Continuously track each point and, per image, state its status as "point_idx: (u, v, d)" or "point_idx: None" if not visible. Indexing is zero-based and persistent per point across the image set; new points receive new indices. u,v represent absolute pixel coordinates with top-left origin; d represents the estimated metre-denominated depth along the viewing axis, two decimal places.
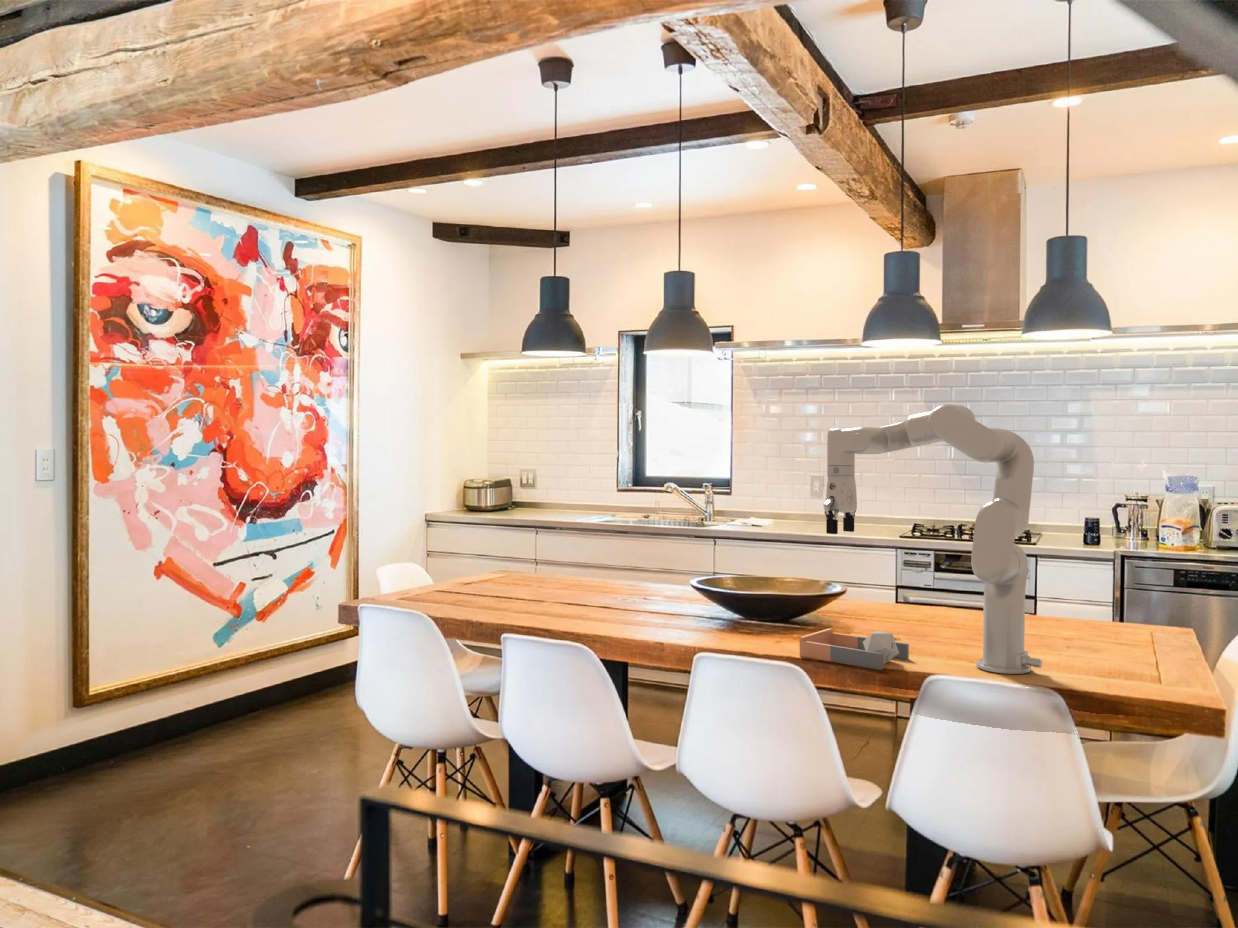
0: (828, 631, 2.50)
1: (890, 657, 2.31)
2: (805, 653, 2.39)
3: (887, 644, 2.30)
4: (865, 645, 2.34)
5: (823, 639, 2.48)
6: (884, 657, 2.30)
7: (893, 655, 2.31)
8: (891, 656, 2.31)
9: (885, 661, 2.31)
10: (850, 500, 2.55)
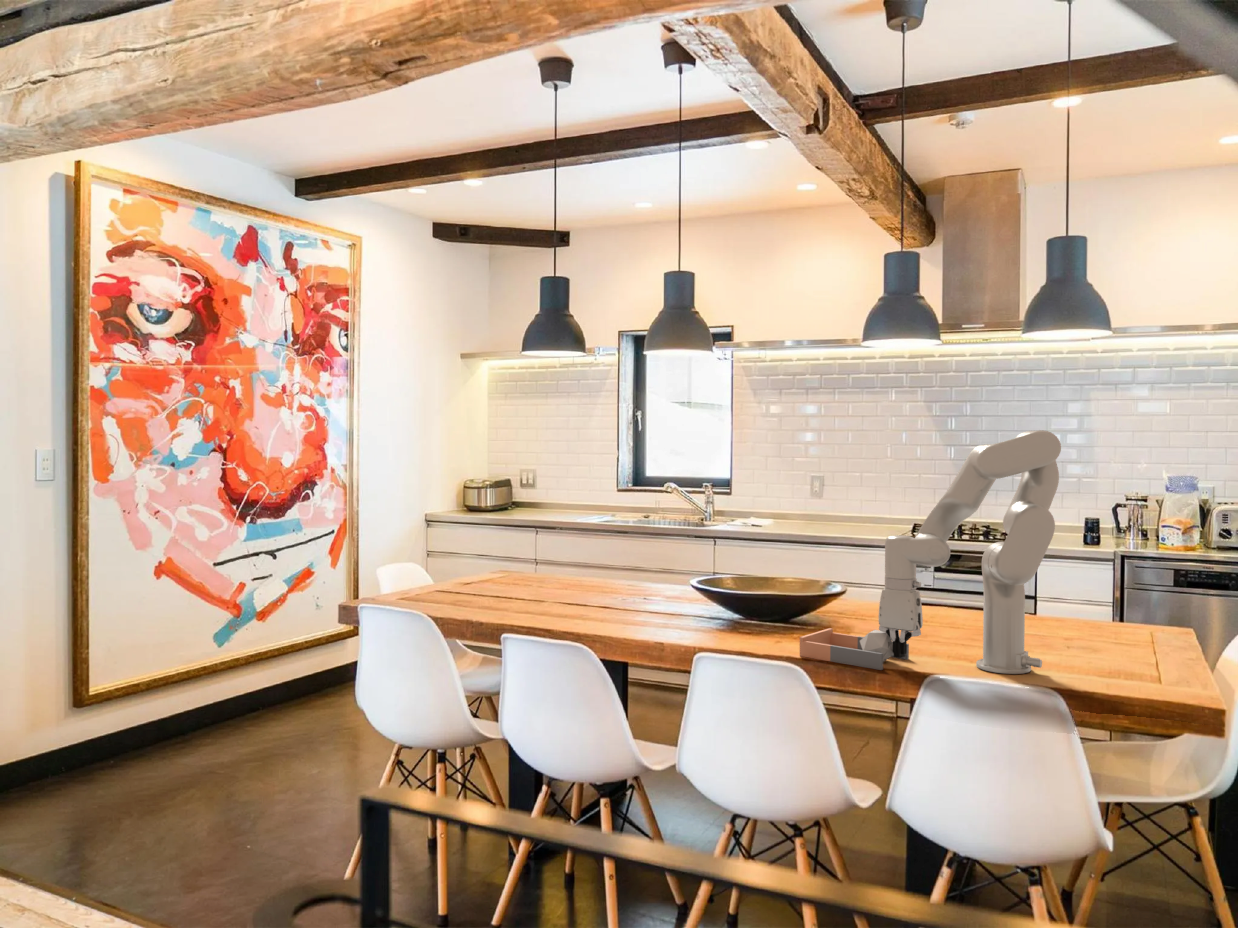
0: (828, 631, 2.50)
1: (887, 656, 2.31)
2: (805, 653, 2.39)
3: (884, 643, 2.30)
4: (862, 644, 2.34)
5: (823, 639, 2.48)
6: None
7: (890, 654, 2.31)
8: (888, 655, 2.31)
9: None
10: None
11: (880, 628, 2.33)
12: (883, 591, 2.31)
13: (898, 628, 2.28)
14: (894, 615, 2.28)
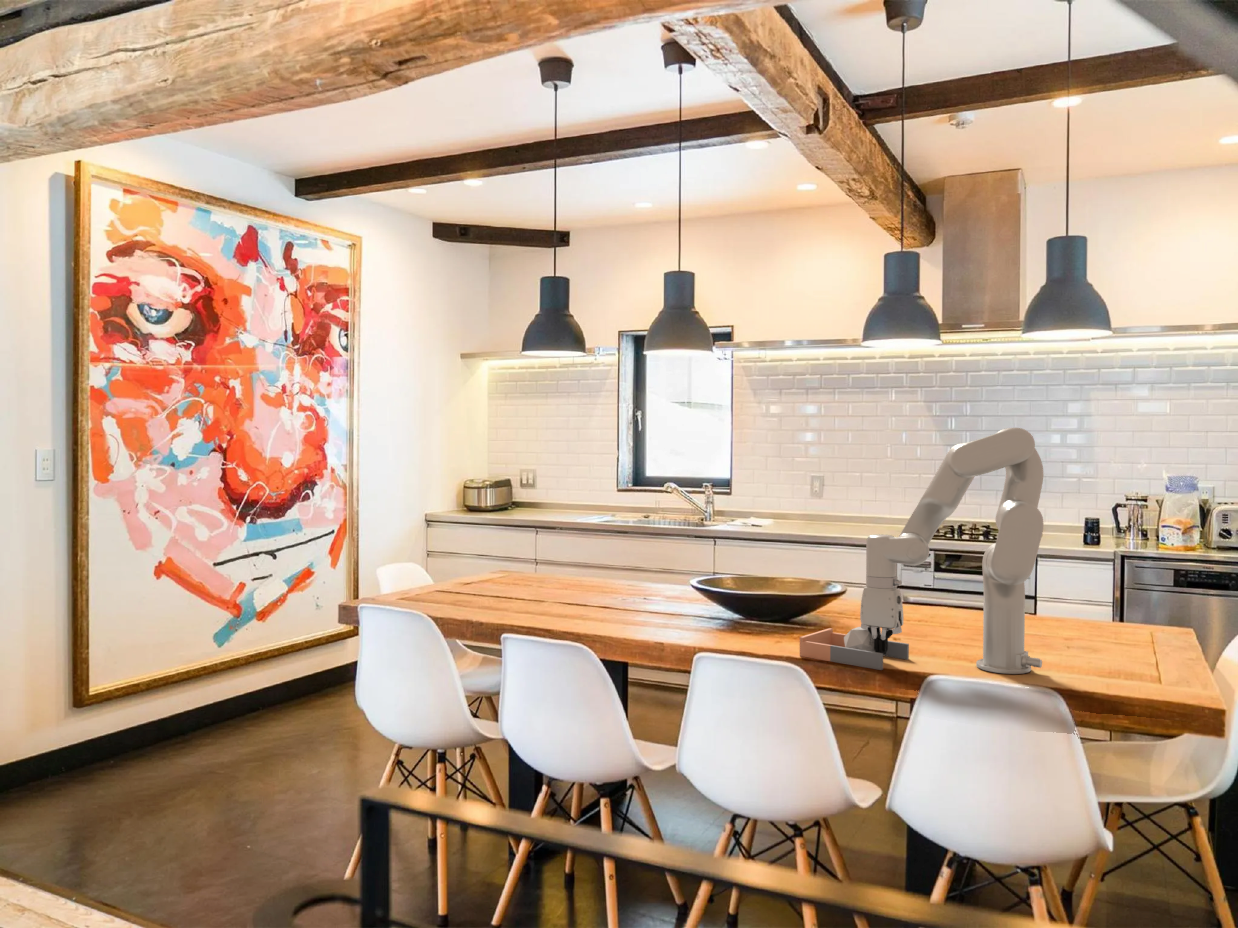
0: (828, 631, 2.50)
1: None
2: (805, 653, 2.39)
3: (865, 640, 2.34)
4: (845, 641, 2.39)
5: (823, 639, 2.48)
6: None
7: (871, 651, 2.35)
8: None
9: None
10: None
11: (862, 626, 2.36)
12: (864, 589, 2.34)
13: (879, 626, 2.32)
14: (875, 613, 2.32)
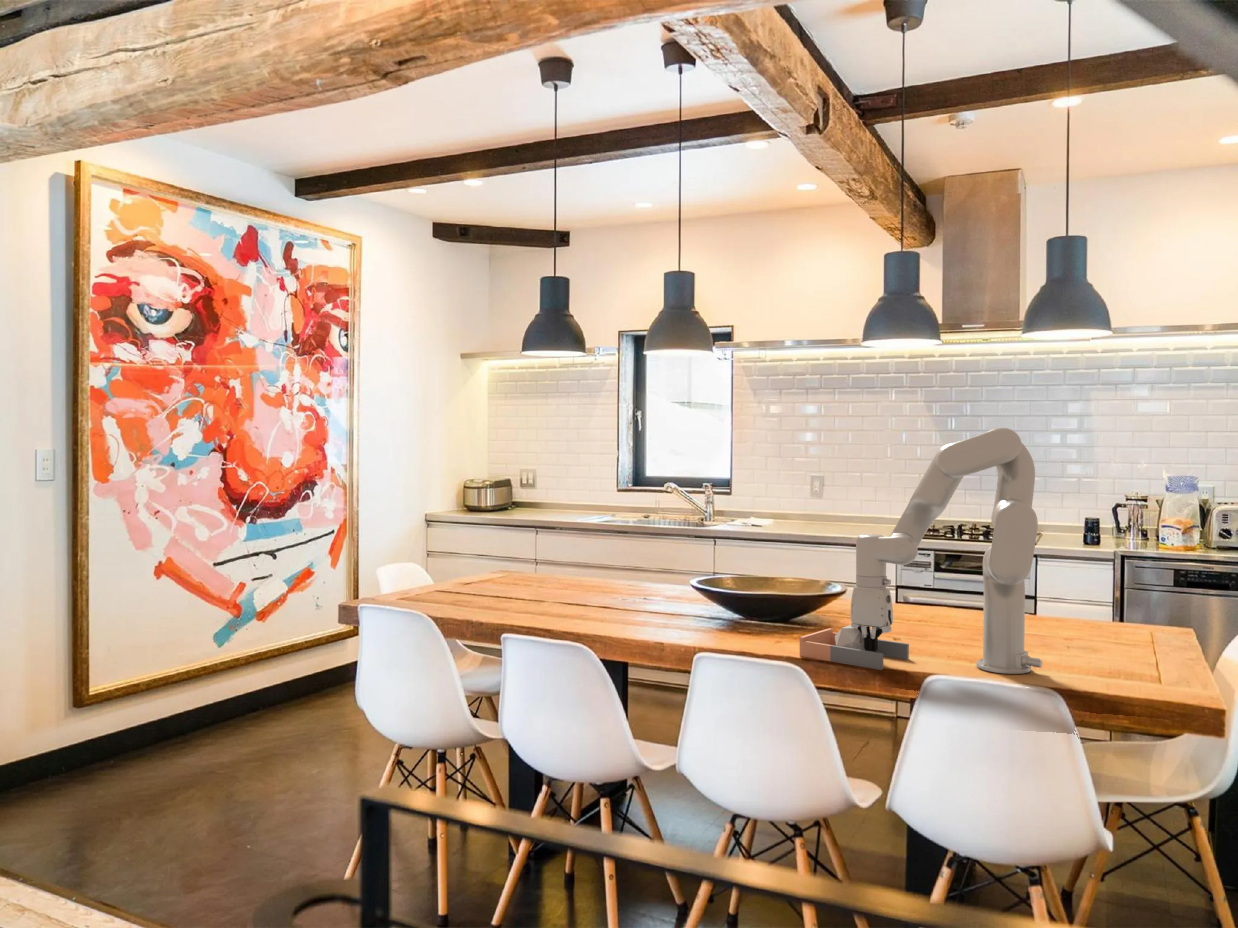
0: (828, 631, 2.50)
1: None
2: (805, 653, 2.39)
3: (855, 638, 2.36)
4: (836, 639, 2.41)
5: (823, 639, 2.48)
6: None
7: (862, 649, 2.37)
8: None
9: None
10: None
11: (852, 625, 2.38)
12: (854, 589, 2.36)
13: (869, 625, 2.34)
14: (865, 612, 2.34)
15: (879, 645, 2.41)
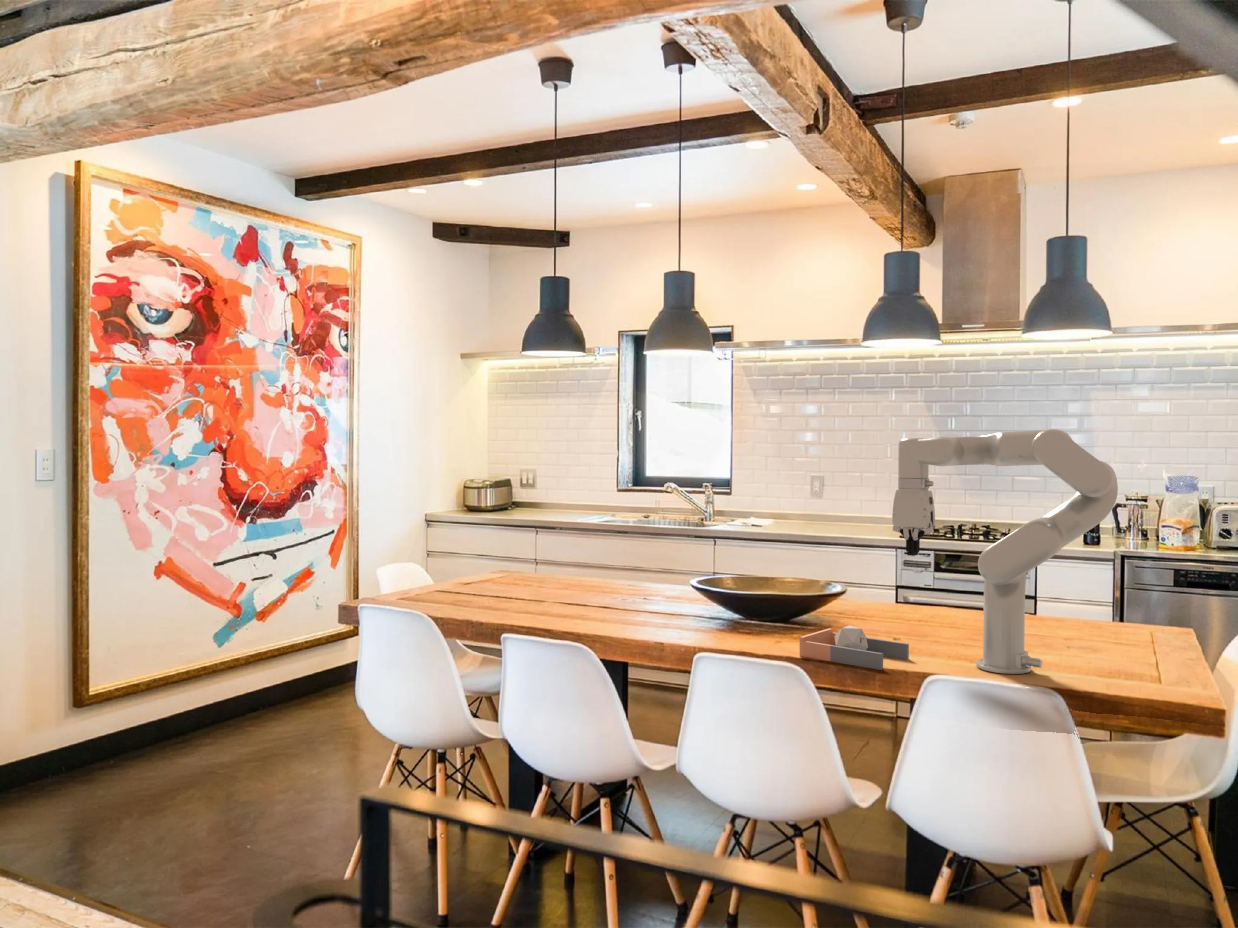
0: (828, 631, 2.50)
1: None
2: (805, 653, 2.39)
3: (855, 638, 2.36)
4: (836, 639, 2.41)
5: (823, 639, 2.48)
6: None
7: (862, 649, 2.37)
8: None
9: None
10: None
11: (894, 528, 2.41)
12: (897, 492, 2.38)
13: (911, 526, 2.36)
14: (907, 514, 2.36)
15: (879, 645, 2.41)
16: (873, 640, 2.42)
